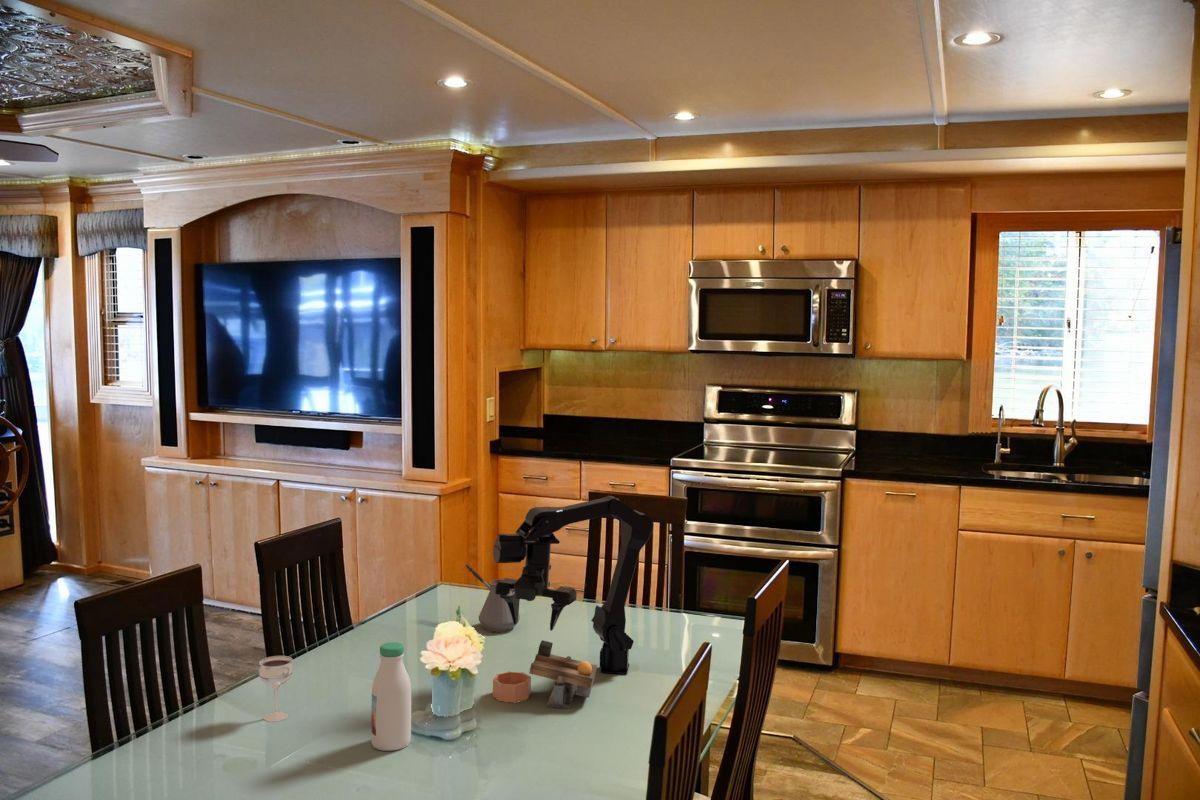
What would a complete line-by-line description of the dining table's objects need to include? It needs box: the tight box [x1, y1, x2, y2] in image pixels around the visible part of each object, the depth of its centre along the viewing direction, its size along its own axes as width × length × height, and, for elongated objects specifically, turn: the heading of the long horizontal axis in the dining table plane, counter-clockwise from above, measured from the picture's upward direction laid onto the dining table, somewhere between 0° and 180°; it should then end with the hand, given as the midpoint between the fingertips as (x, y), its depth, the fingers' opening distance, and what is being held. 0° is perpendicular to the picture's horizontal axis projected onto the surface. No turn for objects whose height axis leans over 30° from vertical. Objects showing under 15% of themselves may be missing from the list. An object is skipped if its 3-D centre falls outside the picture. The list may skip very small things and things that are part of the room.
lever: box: [528, 639, 598, 698], centre depth 208 cm, size 14×14×7 cm
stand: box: [546, 681, 577, 710], centre depth 209 cm, size 5×15×5 cm, turn 173°
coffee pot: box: [462, 564, 521, 633], centre depth 258 cm, size 21×12×15 cm, turn 46°
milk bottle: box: [370, 641, 412, 752], centre depth 182 cm, size 8×8×20 cm
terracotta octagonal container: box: [492, 671, 532, 703], centre depth 208 cm, size 8×8×4 cm
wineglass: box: [258, 655, 294, 723], centre depth 193 cm, size 7×7×12 cm
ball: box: [578, 660, 592, 676], centre depth 205 cm, size 3×3×3 cm
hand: (533, 627), depth 216 cm, fingers open, 9 cm apart
